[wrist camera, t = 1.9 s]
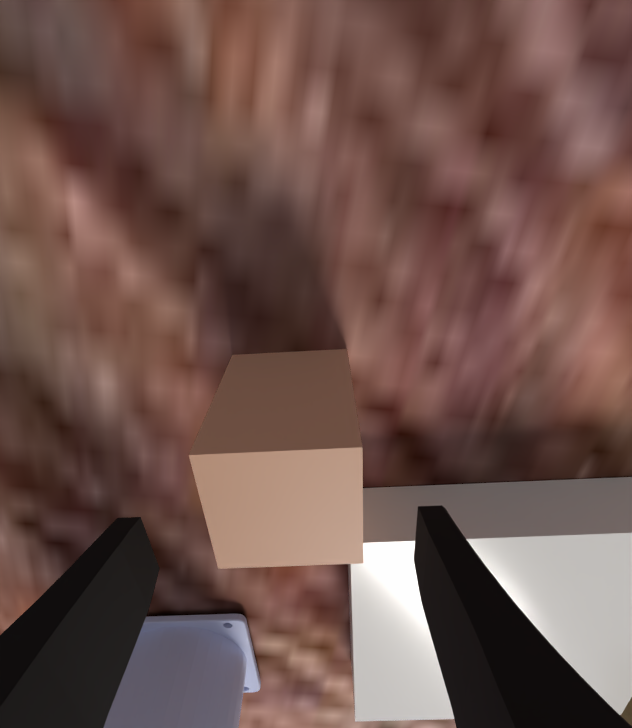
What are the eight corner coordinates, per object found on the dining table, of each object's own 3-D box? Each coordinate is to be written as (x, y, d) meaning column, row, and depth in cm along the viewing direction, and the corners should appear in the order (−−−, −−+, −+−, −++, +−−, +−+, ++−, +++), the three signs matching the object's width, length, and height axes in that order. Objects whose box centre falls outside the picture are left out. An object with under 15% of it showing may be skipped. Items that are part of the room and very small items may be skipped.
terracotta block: (248, 445, 18) (218, 568, 12) (232, 354, 16) (188, 455, 10) (349, 440, 18) (363, 563, 12) (346, 348, 16) (362, 447, 10)
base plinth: (351, 662, 26) (355, 721, 23) (345, 488, 19) (350, 543, 16) (589, 655, 25) (621, 714, 22) (671, 475, 18) (731, 529, 16)
